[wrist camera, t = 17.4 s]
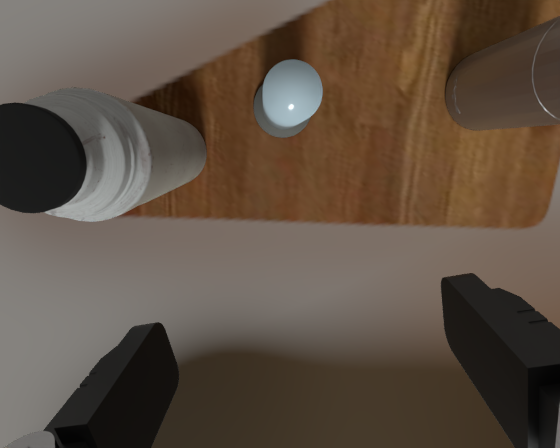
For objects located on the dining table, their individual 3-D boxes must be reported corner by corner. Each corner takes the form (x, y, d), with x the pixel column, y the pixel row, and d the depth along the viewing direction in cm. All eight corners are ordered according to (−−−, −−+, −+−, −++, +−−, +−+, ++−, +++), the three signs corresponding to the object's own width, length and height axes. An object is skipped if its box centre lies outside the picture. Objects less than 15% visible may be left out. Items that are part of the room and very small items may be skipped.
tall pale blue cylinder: (300, 82, 41) (317, 54, 29) (307, 126, 42) (326, 117, 30) (259, 89, 41) (257, 64, 28) (266, 133, 42) (268, 127, 30)
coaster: (306, 72, 42) (307, 71, 41) (315, 132, 43) (315, 132, 43) (248, 82, 41) (248, 81, 41) (259, 141, 43) (259, 141, 42)
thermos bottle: (151, 190, 44) (-33, 264, 16) (132, 125, 42) (-111, 86, 15) (213, 177, 44) (134, 227, 16) (197, 111, 42) (77, 45, 15)
